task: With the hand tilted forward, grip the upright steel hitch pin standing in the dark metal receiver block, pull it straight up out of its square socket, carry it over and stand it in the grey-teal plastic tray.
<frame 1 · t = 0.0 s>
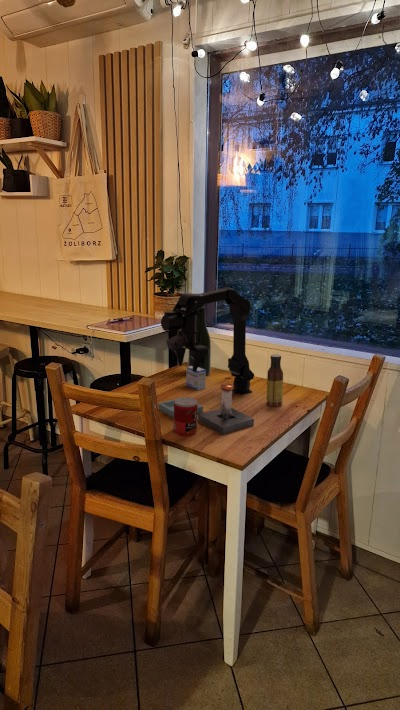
hand: (187, 368, 180), 15 cm above the table, tool pointing down, fingers open, 9 cm apart
hitch pin: (226, 404, 166), in the receiver block
canned food: (185, 432, 160), on the table
tray: (180, 411, 178), on the table
wine bottle: (199, 373, 224), on the table
sauce bottle: (273, 404, 187), on the table
medicine box: (195, 387, 205), on the table
receiver block: (225, 423, 168), on the table
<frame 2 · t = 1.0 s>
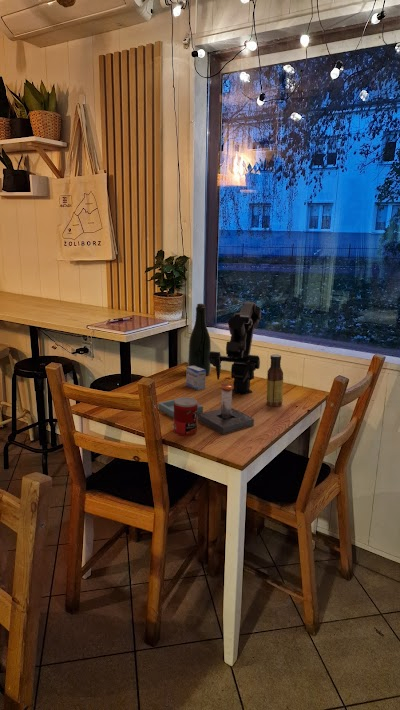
hand: (230, 380, 172), 13 cm above the table, tool tilted 45°, fingers open, 9 cm apart
nothing on the table moved.
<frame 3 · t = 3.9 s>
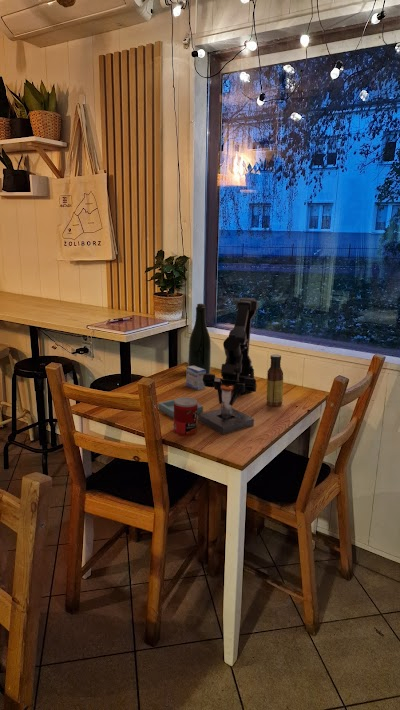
hand: (225, 404, 165), 8 cm above the table, tool tilted 45°, fingers closed on hitch pin, 4 cm apart
hitch pin: (226, 404, 166), in the receiver block, touching gripper
everything else where it was.
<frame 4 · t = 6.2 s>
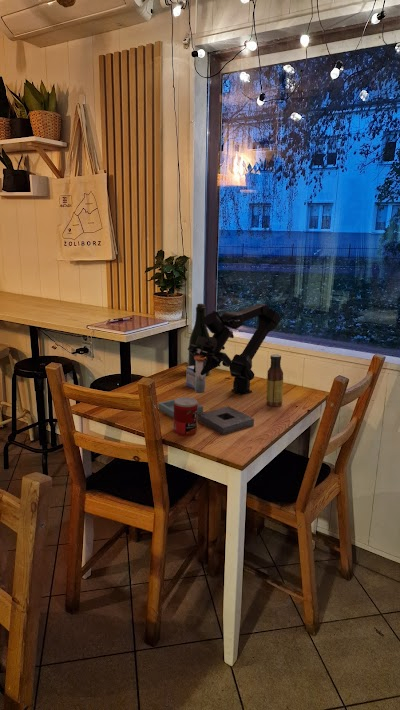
hand: (197, 373, 179), 13 cm above the table, tool tilted 45°, fingers closed on hitch pin, 4 cm apart
hitch pin: (200, 374, 180), point 13 cm above the table, touching gripper
everything else where it was.
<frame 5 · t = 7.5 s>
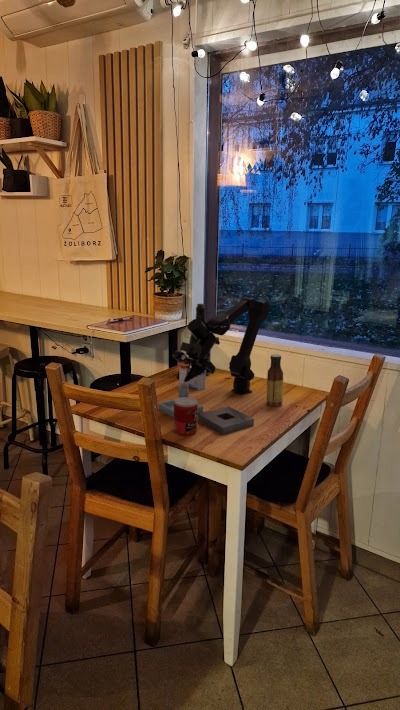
hand: (181, 380, 175), 12 cm above the table, tool tilted 45°, fingers closed on hitch pin, 4 cm apart
hitch pin: (183, 381, 176), point 12 cm above the table, touching gripper
everything else where it was.
when the fingers open (9 cm above the table, at t = 8.7 s): hitch pin stays where it is, resting on tray.
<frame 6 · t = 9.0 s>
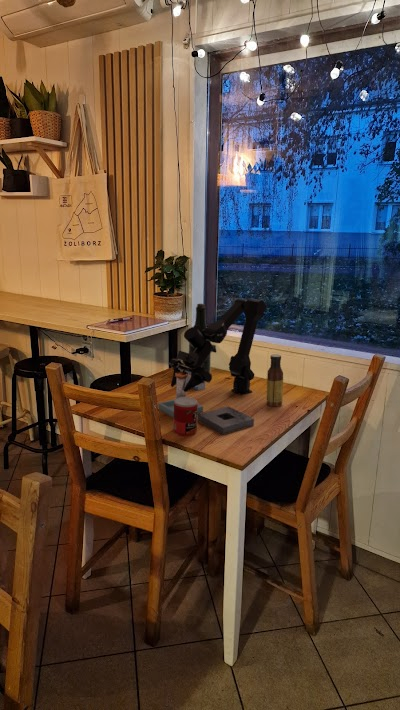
hand: (177, 388, 175), 9 cm above the table, tool tilted 45°, fingers open, 7 cm apart
hitch pin: (181, 391, 176), in the tray, point 8 cm above the table
everything else where it was.
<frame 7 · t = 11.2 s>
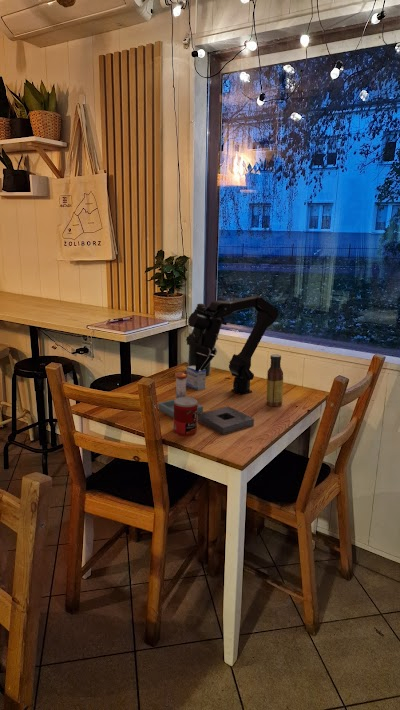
hand: (199, 370, 186), 12 cm above the table, tool tilted 20°, fingers open, 9 cm apart
nothing on the table moved.
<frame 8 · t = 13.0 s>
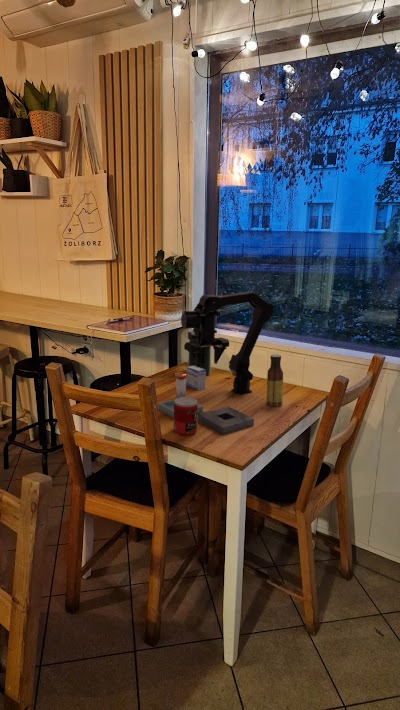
hand: (206, 365, 191), 13 cm above the table, tool pointing down, fingers open, 9 cm apart
nothing on the table moved.
at the end: hitch pin inside the target area on the tray (0.1 cm from its centre), point 7.6 cm above the tray's base; the gripper is holding nothing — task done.
